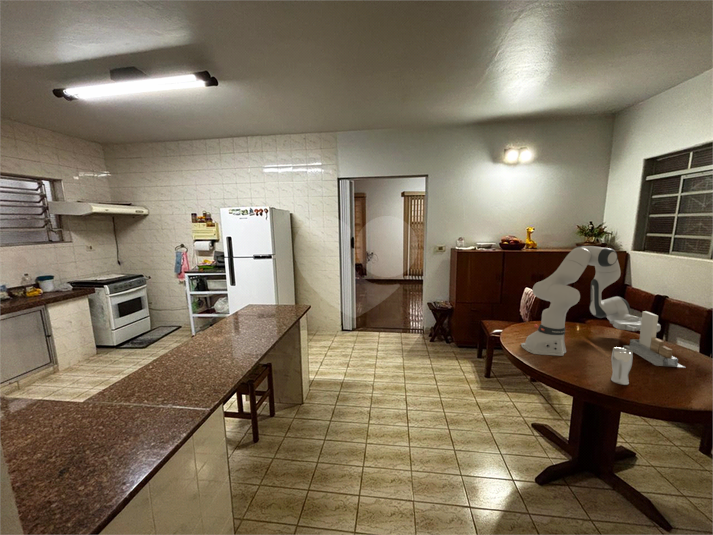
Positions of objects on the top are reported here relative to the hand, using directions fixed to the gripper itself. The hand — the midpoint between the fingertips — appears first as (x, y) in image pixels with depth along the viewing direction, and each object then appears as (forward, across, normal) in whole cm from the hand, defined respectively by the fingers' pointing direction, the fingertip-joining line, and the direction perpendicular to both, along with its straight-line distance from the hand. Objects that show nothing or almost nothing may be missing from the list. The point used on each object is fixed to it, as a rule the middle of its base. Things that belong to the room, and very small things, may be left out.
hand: (645, 330), depth 155 cm
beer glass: (+36, -30, +14) cm, 49 cm away
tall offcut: (+9, 0, +12) cm, 15 cm away
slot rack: (+6, 0, +13) cm, 15 cm away
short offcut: (+14, 0, +12) cm, 18 cm away
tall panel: (+2, 0, +12) cm, 12 cm away
